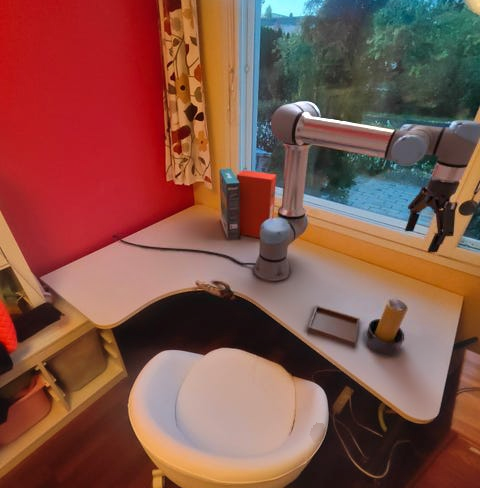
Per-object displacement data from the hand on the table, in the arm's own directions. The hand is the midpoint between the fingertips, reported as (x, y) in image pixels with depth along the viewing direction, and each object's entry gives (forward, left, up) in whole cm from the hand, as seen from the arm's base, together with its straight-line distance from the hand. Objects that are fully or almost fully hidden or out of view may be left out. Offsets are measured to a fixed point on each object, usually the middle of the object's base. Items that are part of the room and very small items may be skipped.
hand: (419, 240), depth 96 cm
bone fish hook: (-65, -26, -27) cm, 75 cm away
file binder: (-70, +24, -27) cm, 78 cm away
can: (-4, -25, -26) cm, 36 cm away
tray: (-19, -25, -26) cm, 41 cm away
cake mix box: (-84, +22, -27) cm, 91 cm away
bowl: (-4, -25, -26) cm, 37 cm away
